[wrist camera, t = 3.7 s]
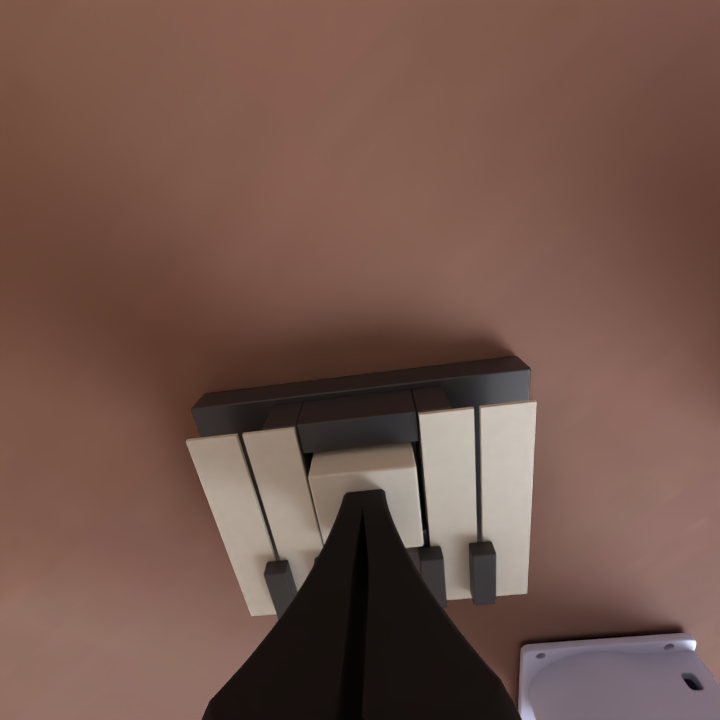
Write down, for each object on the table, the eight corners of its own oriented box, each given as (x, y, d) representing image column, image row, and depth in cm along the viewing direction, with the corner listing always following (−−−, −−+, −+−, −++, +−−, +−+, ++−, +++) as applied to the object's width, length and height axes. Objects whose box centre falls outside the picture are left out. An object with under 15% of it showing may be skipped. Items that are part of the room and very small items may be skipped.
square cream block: (314, 441, 14) (307, 477, 12) (409, 431, 14) (416, 466, 12) (330, 513, 15) (325, 556, 13) (416, 505, 15) (424, 547, 13)
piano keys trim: (187, 438, 13) (176, 452, 12) (534, 399, 12) (545, 411, 11) (252, 612, 16) (246, 631, 15) (525, 590, 15) (533, 608, 14)
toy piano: (203, 393, 15) (167, 433, 12) (517, 355, 14) (554, 388, 12) (260, 562, 19) (242, 622, 16) (512, 539, 18) (539, 598, 15)
